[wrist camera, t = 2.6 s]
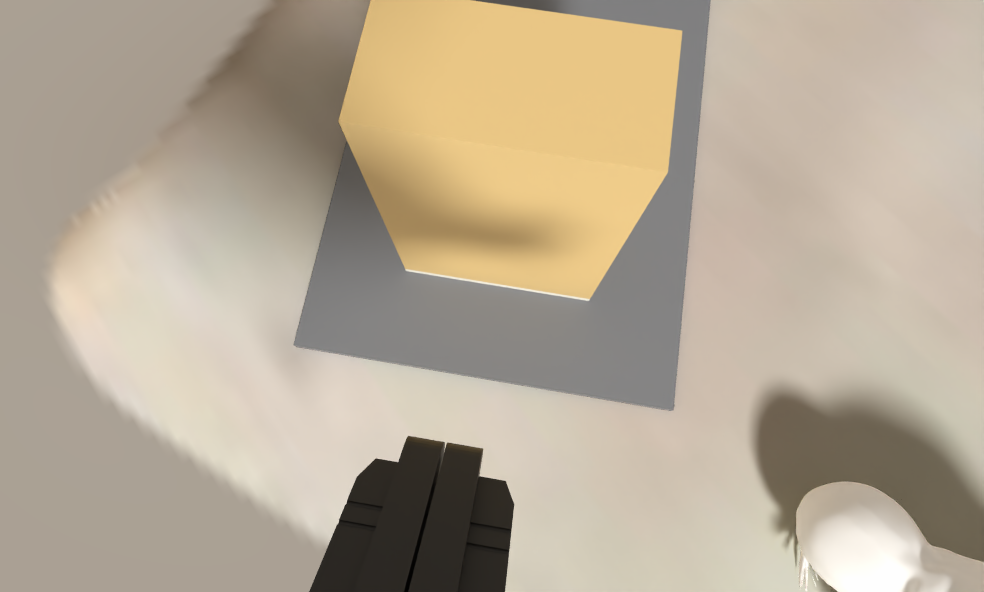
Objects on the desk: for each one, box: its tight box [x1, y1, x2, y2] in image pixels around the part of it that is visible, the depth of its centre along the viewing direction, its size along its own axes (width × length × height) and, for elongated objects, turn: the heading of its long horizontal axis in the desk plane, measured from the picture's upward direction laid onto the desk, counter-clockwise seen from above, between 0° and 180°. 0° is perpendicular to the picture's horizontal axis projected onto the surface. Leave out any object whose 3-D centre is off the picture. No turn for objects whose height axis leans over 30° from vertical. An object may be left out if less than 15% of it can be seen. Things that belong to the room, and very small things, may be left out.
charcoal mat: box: [294, 0, 710, 411], centre depth 28 cm, size 16×24×1 cm, turn 170°
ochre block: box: [338, 0, 682, 301], centre depth 21 cm, size 8×4×12 cm, turn 80°
